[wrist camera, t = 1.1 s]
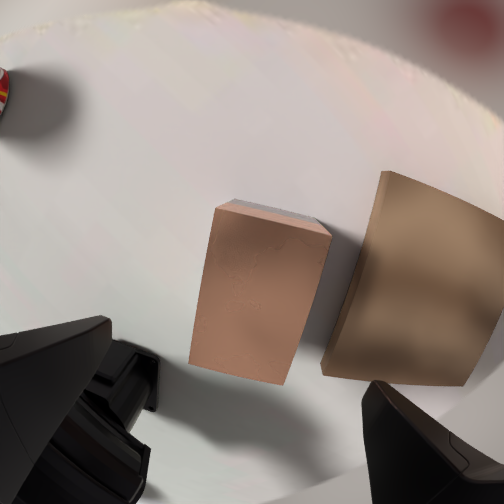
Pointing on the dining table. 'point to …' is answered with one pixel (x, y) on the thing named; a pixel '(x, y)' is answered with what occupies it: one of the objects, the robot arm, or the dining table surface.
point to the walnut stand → (420, 289)
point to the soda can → (3, 88)
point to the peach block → (256, 290)
